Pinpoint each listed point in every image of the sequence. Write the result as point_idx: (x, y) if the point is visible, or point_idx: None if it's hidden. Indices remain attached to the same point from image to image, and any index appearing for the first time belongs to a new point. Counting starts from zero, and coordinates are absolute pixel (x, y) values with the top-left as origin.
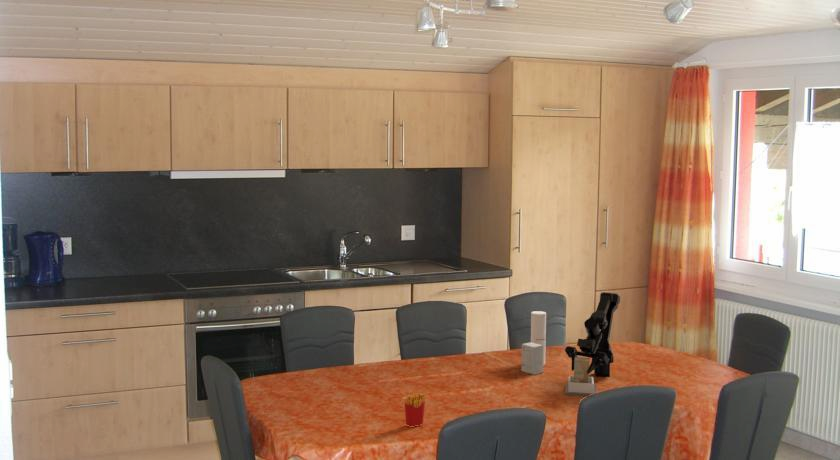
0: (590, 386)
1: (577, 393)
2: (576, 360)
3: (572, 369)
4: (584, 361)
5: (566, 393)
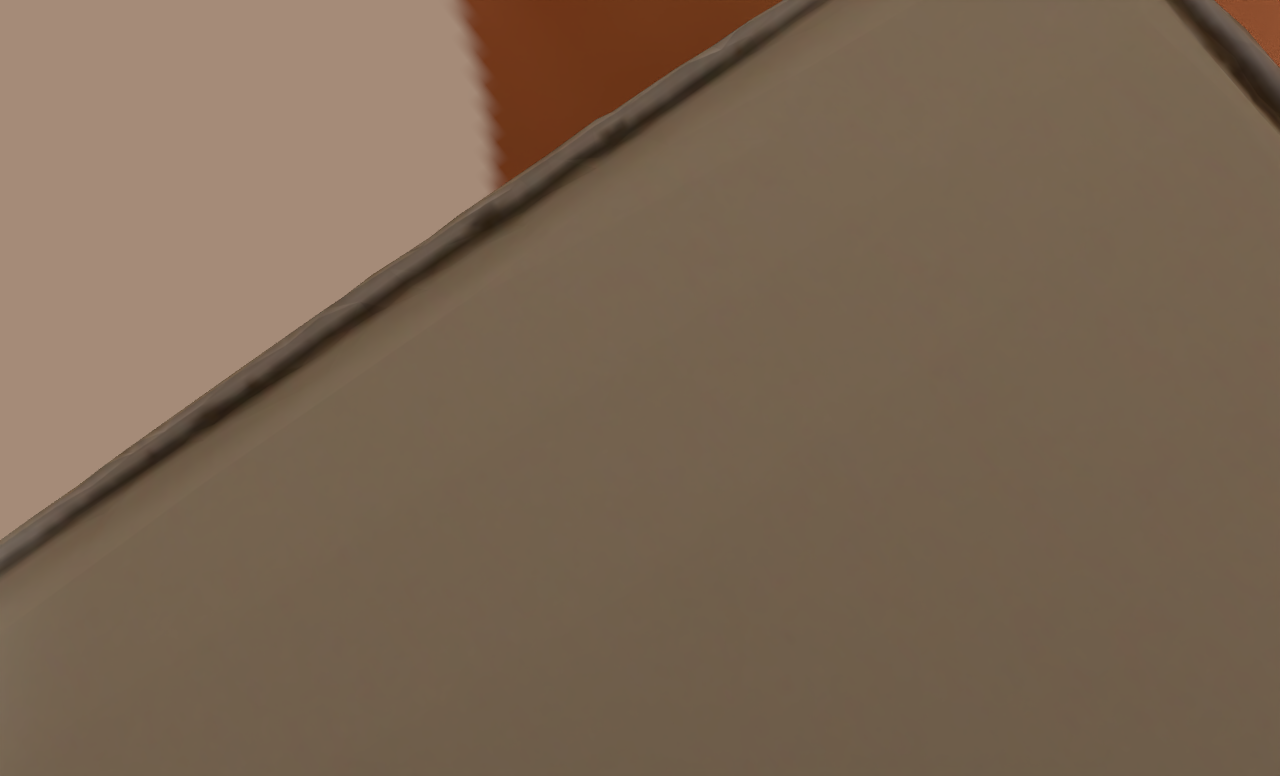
0: None
1: None
2: (849, 7)
3: None
4: (113, 530)
5: None
